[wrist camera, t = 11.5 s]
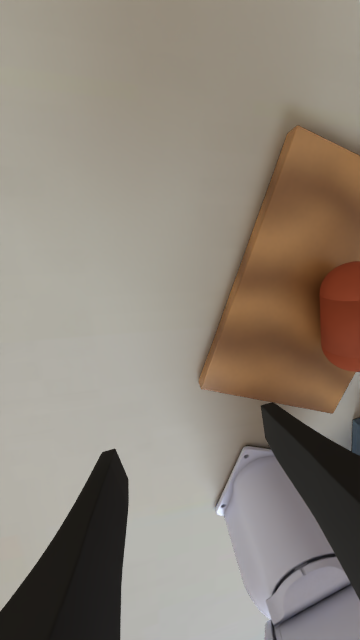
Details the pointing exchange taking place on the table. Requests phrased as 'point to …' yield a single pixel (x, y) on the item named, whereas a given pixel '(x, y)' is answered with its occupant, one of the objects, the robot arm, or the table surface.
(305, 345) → the oak board
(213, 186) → the table surface
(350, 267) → the sweet potato
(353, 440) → the low basket
